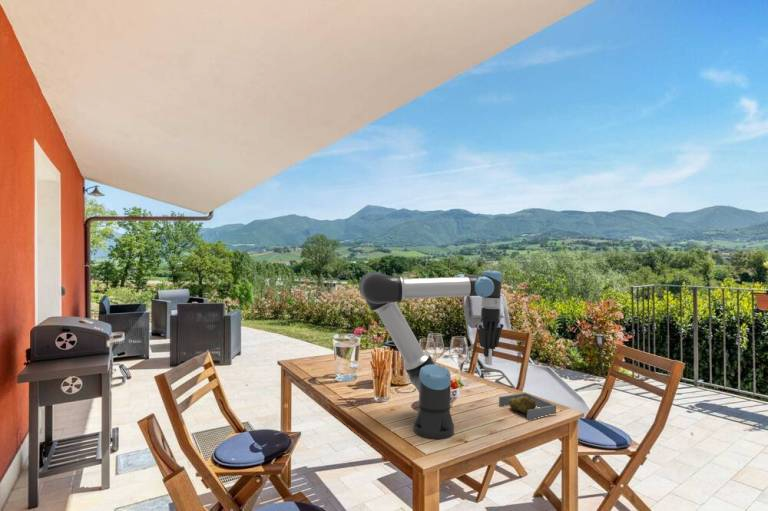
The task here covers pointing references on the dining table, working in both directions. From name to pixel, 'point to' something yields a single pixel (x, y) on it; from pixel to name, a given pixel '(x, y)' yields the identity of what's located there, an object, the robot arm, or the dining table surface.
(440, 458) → the dining table surface
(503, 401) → the box
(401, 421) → the dining table surface
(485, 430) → the dining table surface
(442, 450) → the dining table surface
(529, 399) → the potato
